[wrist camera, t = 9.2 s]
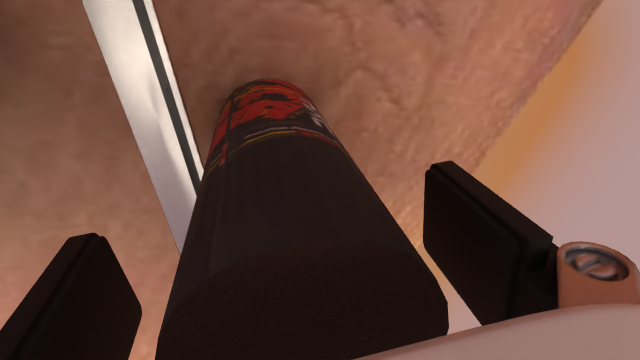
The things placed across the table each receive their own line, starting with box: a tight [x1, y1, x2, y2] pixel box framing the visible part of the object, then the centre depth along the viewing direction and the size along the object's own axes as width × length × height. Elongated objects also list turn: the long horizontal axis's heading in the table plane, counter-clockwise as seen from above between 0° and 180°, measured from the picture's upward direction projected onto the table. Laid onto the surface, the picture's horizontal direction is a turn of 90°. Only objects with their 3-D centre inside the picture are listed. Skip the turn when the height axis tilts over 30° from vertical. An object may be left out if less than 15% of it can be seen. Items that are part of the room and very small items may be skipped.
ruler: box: [81, 0, 204, 255], centre depth 19 cm, size 22×3×1 cm, turn 7°
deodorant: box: [155, 79, 449, 360], centre depth 14 cm, size 6×6×15 cm
